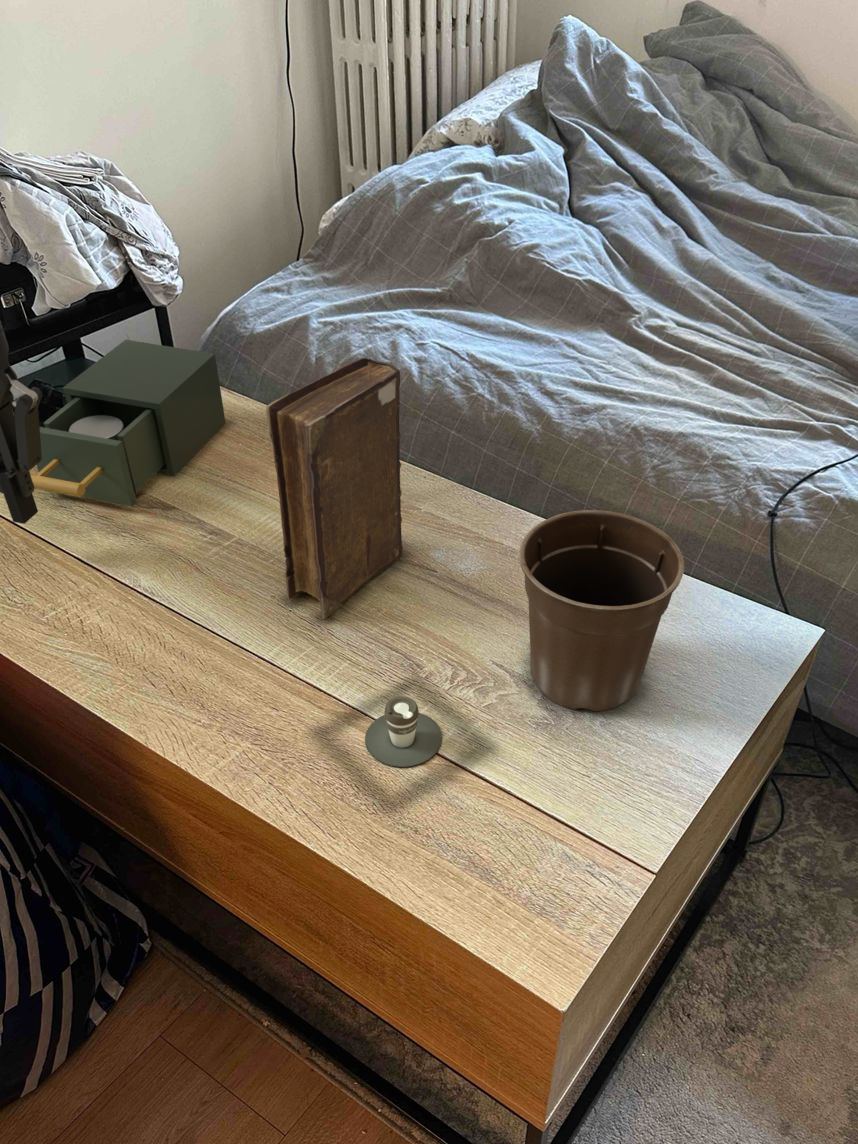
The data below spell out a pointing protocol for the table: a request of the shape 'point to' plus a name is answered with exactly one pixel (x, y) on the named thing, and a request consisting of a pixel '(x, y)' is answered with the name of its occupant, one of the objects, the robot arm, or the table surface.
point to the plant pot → (595, 603)
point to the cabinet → (160, 393)
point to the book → (339, 480)
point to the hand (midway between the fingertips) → (25, 516)
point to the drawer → (99, 453)
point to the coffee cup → (403, 735)
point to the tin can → (98, 426)
